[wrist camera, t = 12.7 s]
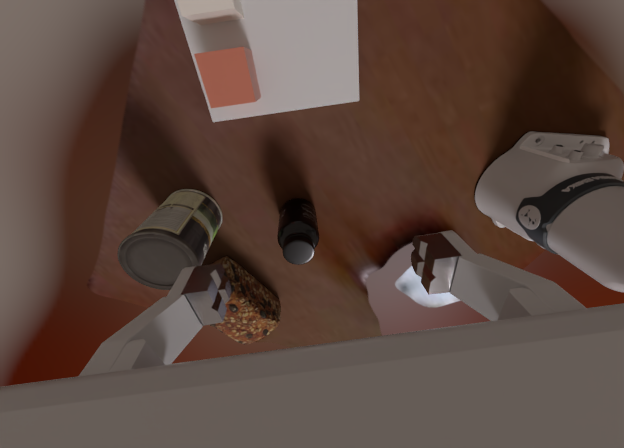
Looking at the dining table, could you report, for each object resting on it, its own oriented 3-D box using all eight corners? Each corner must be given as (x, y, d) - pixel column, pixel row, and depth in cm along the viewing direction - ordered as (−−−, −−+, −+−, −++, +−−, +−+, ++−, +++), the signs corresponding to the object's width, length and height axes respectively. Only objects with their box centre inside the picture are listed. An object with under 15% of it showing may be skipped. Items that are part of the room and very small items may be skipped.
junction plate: (353, -76, 28) (355, -81, 27) (357, 100, 37) (359, 100, 37) (162, -47, 28) (158, -50, 27) (214, 120, 38) (213, 122, 37)
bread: (192, 273, 54) (173, 311, 45) (229, 250, 51) (216, 286, 42) (249, 317, 62) (242, 356, 54) (283, 299, 60) (282, 337, 51)
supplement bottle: (274, 203, 46) (268, 241, 36) (309, 192, 45) (313, 227, 35) (287, 232, 49) (285, 274, 39) (319, 222, 49) (326, 262, 38)
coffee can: (233, 209, 46) (211, 258, 34) (206, 244, 50) (178, 299, 38) (179, 176, 42) (134, 218, 30) (154, 217, 46) (105, 269, 34)
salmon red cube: (251, 50, 33) (243, 46, 28) (261, 97, 36) (255, 101, 30) (209, 56, 33) (194, 53, 28) (222, 103, 36) (211, 108, 31)
